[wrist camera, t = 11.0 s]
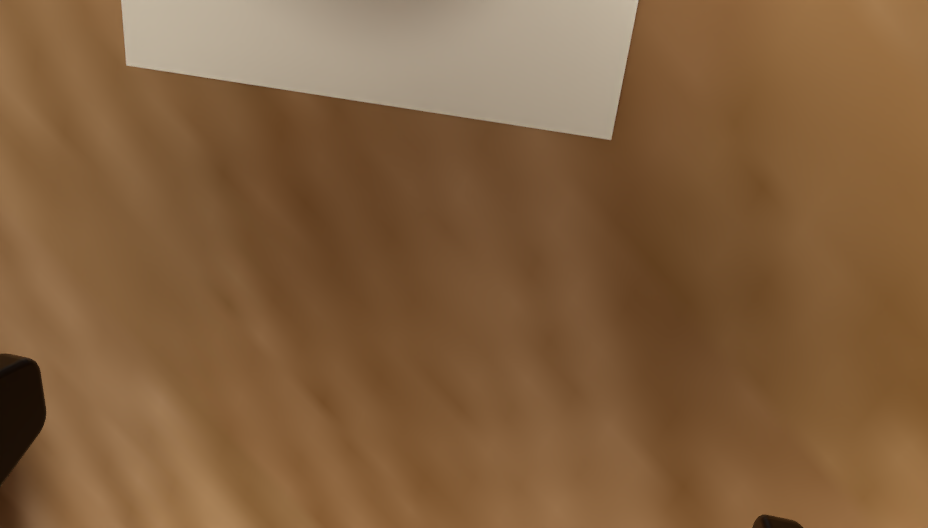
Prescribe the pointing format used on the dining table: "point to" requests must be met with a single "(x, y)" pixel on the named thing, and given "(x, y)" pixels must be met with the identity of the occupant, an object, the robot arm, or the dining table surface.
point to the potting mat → (405, 53)
